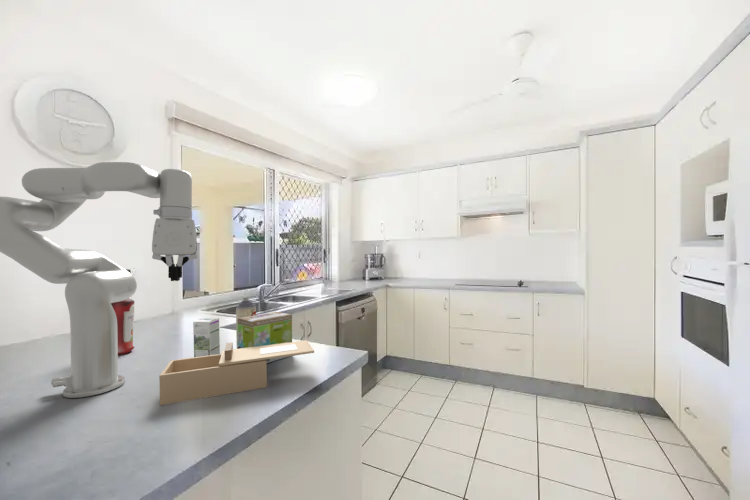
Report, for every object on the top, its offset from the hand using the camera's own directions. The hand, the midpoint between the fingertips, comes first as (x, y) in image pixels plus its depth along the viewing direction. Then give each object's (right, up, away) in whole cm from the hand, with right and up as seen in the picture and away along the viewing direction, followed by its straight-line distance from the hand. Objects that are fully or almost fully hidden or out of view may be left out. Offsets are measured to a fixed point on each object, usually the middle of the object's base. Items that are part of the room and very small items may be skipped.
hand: (175, 280), depth 88 cm
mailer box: (+14, -28, -3) cm, 31 cm away
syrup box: (+1, -29, +16) cm, 33 cm away
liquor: (-39, -30, +30) cm, 58 cm away
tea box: (+19, -29, +19) cm, 39 cm away
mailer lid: (+25, -21, +2) cm, 33 cm away
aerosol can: (+9, -29, +28) cm, 41 cm away
